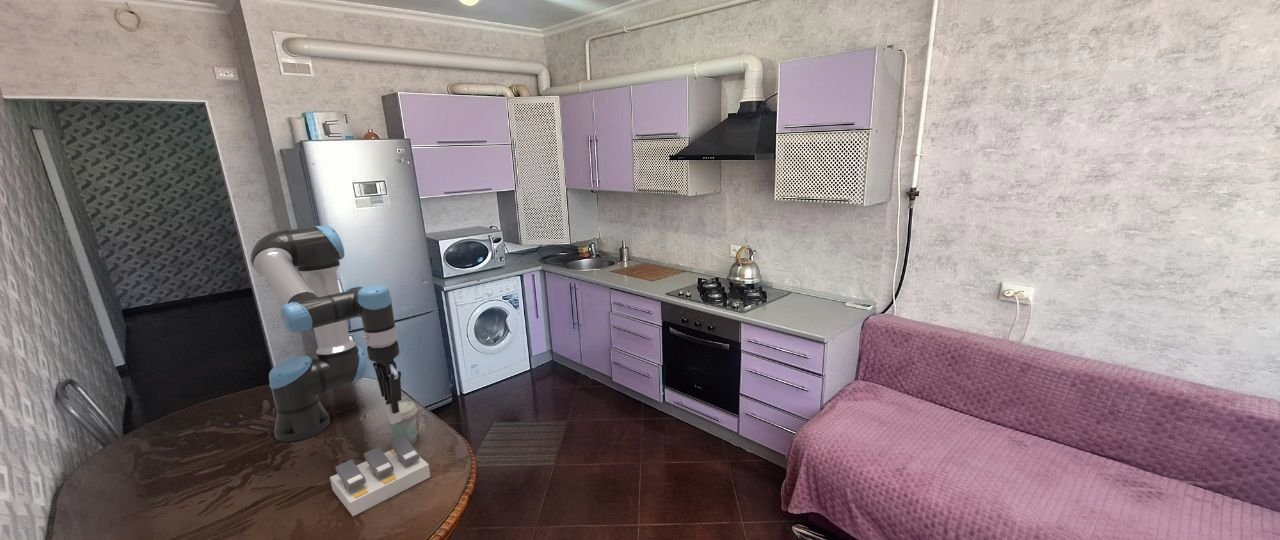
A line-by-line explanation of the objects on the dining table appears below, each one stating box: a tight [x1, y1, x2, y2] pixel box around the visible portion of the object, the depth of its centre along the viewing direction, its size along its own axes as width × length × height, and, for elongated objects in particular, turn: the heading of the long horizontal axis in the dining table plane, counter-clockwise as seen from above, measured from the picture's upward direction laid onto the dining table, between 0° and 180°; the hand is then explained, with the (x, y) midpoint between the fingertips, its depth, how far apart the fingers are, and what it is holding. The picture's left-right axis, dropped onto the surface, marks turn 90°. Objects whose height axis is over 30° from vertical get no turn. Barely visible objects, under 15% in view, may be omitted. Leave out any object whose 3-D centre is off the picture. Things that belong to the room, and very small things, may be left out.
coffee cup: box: [386, 401, 418, 446], centre depth 156 cm, size 9×8×12 cm
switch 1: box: [335, 459, 366, 491], centre depth 132 cm, size 9×4×2 cm, turn 48°
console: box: [329, 448, 431, 517], centre depth 138 cm, size 15×20×6 cm
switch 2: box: [363, 446, 394, 478], centre depth 136 cm, size 9×4×2 cm, turn 48°
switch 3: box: [389, 436, 420, 466], centre depth 141 cm, size 9×4×2 cm, turn 48°
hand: (395, 421), depth 142 cm, fingers closed
